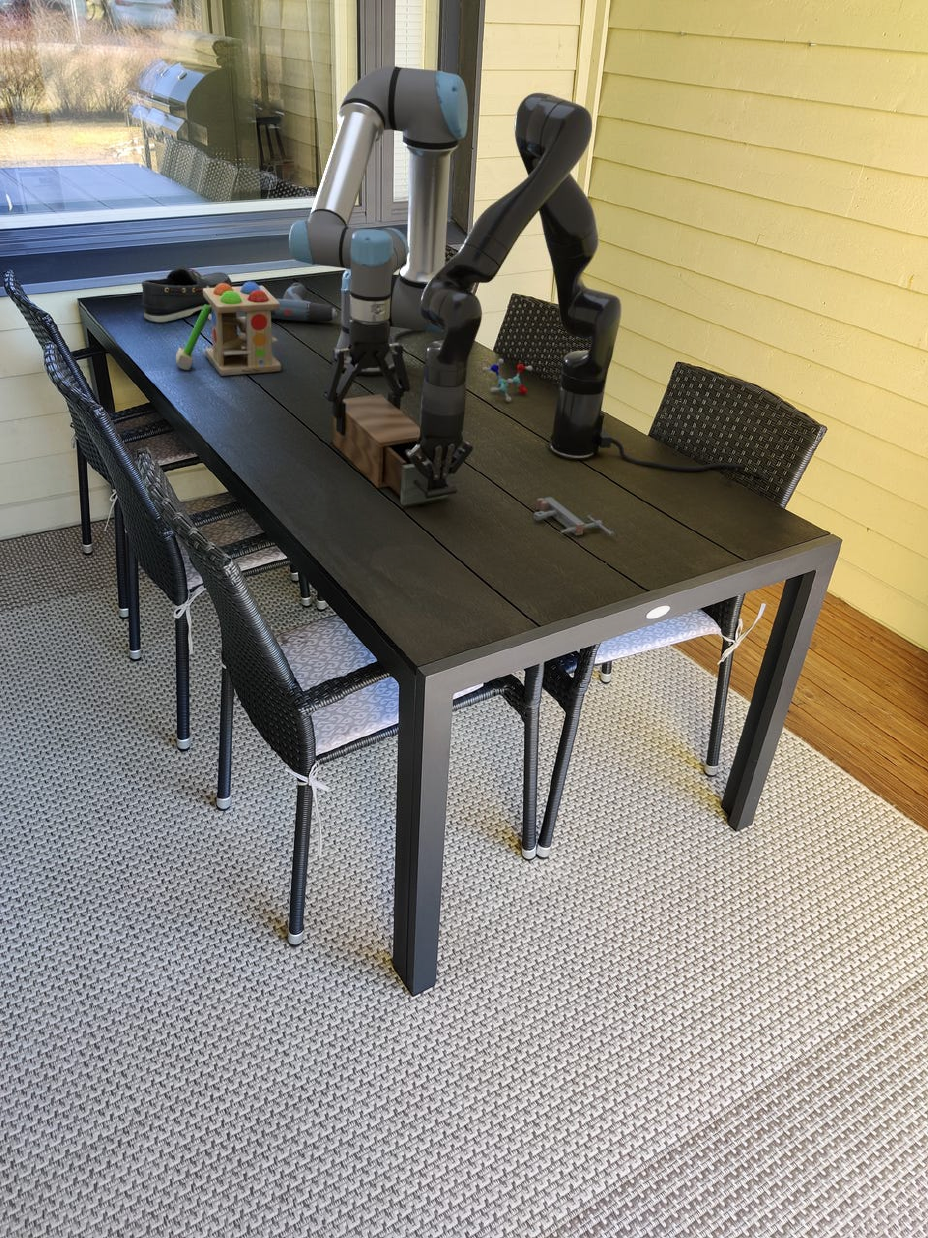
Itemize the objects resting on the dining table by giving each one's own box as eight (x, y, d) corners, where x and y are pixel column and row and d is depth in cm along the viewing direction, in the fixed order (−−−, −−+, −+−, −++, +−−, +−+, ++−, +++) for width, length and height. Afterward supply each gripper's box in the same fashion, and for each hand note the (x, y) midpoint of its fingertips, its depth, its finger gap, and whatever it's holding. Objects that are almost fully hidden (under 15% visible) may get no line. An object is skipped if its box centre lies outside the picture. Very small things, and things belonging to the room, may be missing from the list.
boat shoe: (251, 301, 273) (249, 262, 267) (161, 324, 249) (157, 282, 243) (217, 292, 278) (215, 254, 273) (126, 314, 254) (121, 273, 249)
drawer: (463, 511, 178) (466, 474, 174) (418, 520, 174) (421, 482, 170) (398, 453, 196) (400, 418, 192) (357, 459, 192) (357, 424, 188)
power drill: (344, 304, 276) (335, 327, 259) (277, 298, 275) (264, 321, 258) (344, 285, 273) (335, 306, 256) (277, 279, 272) (264, 300, 255)
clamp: (523, 501, 180) (568, 492, 185) (522, 511, 182) (566, 502, 186) (570, 539, 170) (616, 528, 174) (568, 550, 171) (614, 539, 176)
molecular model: (528, 394, 221) (514, 351, 219) (490, 408, 224) (476, 365, 223) (540, 392, 231) (527, 351, 230) (504, 406, 235) (491, 365, 234)
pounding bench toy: (183, 379, 220) (176, 299, 210) (169, 357, 231) (162, 280, 221) (282, 371, 230) (280, 294, 220) (264, 350, 240) (262, 276, 230)
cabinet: (426, 479, 190) (429, 435, 184) (377, 488, 185) (379, 442, 180) (378, 436, 204) (380, 393, 199) (332, 443, 200) (333, 400, 194)
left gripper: (320, 330, 176) (320, 444, 188) (432, 319, 187) (425, 428, 199) (304, 317, 181) (305, 428, 194) (414, 308, 192) (408, 414, 204)
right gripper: (418, 418, 161) (412, 511, 171) (487, 408, 167) (477, 498, 177) (398, 400, 166) (393, 491, 176) (465, 391, 172) (457, 480, 182)
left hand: (366, 428), depth 196 cm, fingers closed on cabinet, 10 cm apart
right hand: (435, 495), depth 176 cm, fingers closed
